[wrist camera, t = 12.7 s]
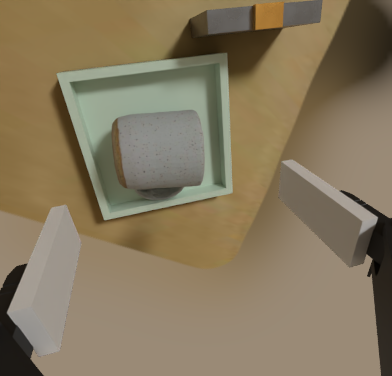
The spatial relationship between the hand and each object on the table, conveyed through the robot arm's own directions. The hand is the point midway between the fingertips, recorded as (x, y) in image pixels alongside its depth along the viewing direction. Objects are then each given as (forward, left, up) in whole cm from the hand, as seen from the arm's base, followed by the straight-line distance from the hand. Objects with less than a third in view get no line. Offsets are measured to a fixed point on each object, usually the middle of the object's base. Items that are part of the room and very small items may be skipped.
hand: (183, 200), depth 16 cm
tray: (0, 0, -16) cm, 16 cm away
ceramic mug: (0, -2, -15) cm, 15 cm away
